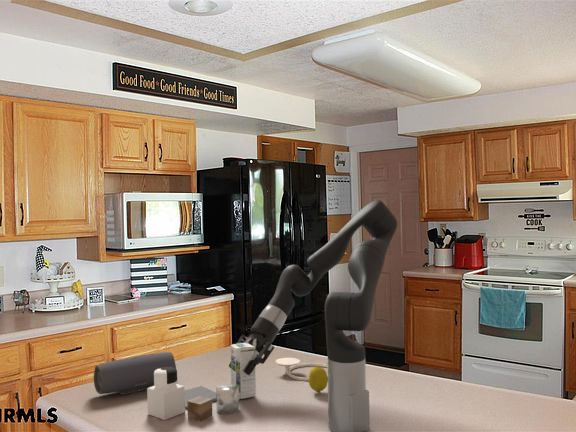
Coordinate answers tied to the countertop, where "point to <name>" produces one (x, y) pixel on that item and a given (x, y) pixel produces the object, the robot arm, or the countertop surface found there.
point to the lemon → (318, 379)
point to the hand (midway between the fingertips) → (238, 370)
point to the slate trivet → (199, 394)
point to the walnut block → (199, 408)
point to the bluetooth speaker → (130, 373)
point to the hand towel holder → (296, 366)
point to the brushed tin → (227, 399)
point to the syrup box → (242, 369)
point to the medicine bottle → (165, 394)
